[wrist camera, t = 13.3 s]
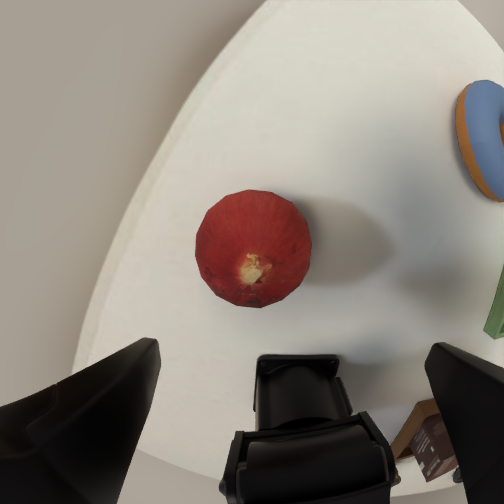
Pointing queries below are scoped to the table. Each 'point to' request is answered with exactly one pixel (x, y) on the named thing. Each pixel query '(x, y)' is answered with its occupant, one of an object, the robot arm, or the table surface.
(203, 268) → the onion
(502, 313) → the produce tray
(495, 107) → the doughnut
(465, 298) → the table surface
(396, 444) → the walnut tray
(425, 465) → the box
